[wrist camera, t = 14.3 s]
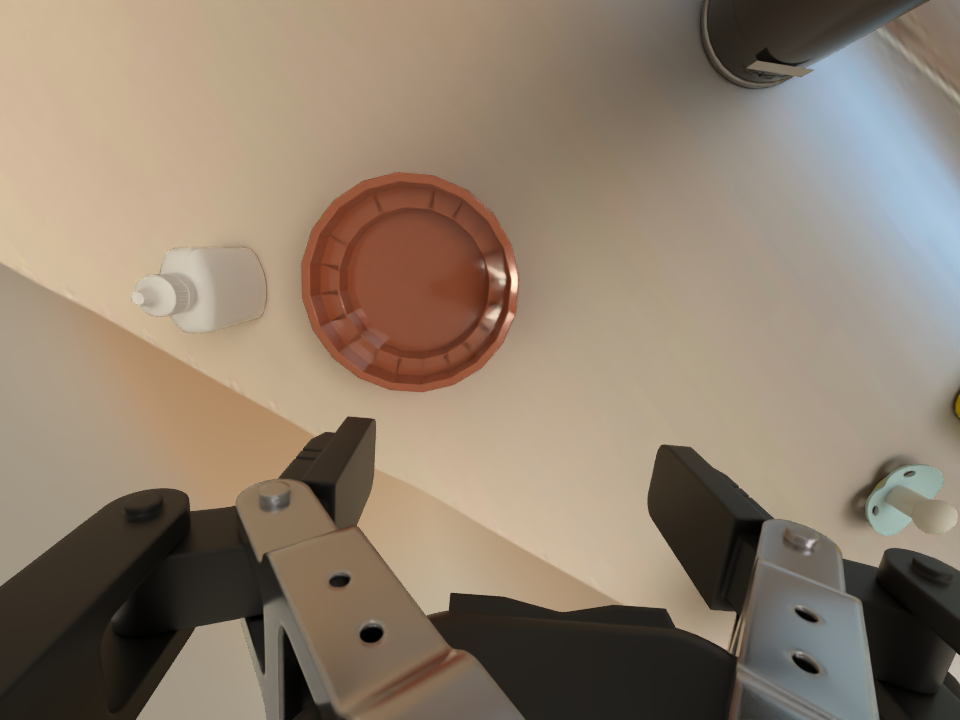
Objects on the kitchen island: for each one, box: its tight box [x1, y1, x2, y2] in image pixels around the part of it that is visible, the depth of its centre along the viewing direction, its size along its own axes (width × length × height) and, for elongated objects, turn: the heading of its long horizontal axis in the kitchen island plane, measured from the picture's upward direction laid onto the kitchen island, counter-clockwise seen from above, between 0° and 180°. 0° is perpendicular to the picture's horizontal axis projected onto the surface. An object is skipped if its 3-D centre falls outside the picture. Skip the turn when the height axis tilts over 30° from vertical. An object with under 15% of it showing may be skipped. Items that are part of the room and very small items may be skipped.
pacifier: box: [865, 464, 958, 536], centre depth 39 cm, size 7×6×6 cm
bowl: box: [302, 172, 519, 392], centre depth 34 cm, size 15×15×5 cm
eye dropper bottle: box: [131, 247, 266, 333], centre depth 30 cm, size 4×6×12 cm
